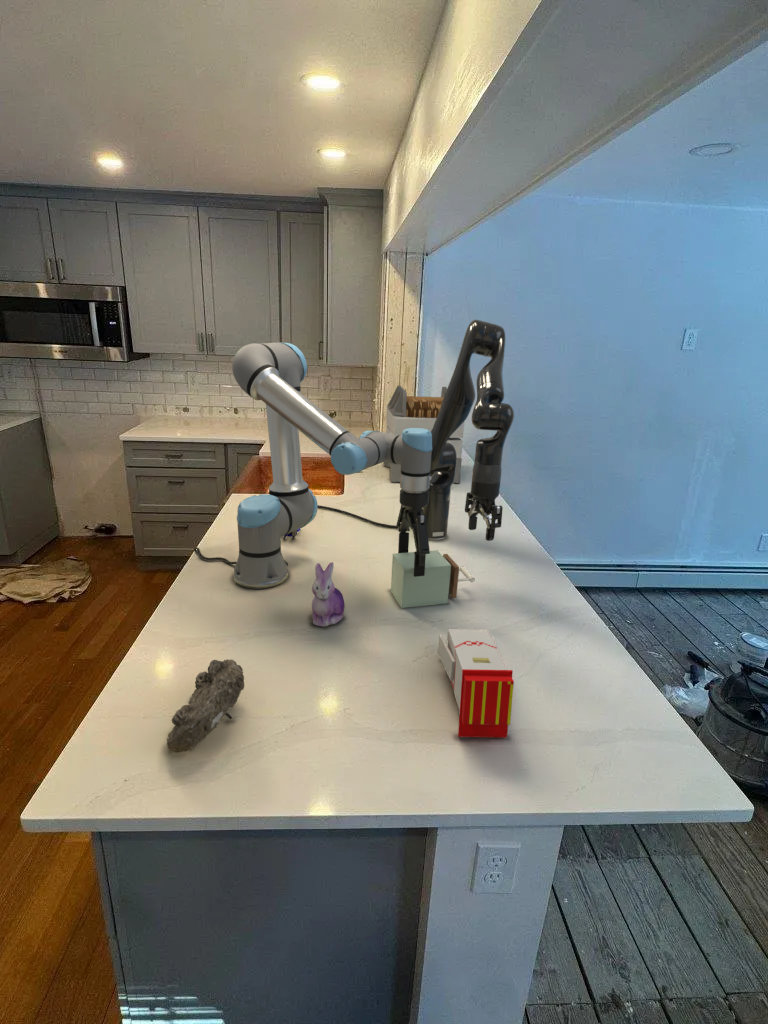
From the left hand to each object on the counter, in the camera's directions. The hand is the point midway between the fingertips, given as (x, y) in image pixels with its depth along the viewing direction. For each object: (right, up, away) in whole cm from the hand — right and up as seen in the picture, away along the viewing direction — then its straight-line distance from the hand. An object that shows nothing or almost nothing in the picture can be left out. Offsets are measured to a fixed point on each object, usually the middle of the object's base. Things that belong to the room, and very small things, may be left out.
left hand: (410, 564), depth 152 cm
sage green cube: (+2, -9, +4) cm, 11 cm away
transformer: (+10, +33, +123) cm, 127 cm away
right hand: (+19, +8, +4) cm, 21 cm away
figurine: (-21, -13, -9) cm, 26 cm away
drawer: (+8, -8, +6) cm, 13 cm away
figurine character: (-39, +6, +42) cm, 58 cm away
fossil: (-40, -25, -44) cm, 65 cm away
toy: (+11, -23, -34) cm, 43 cm away
